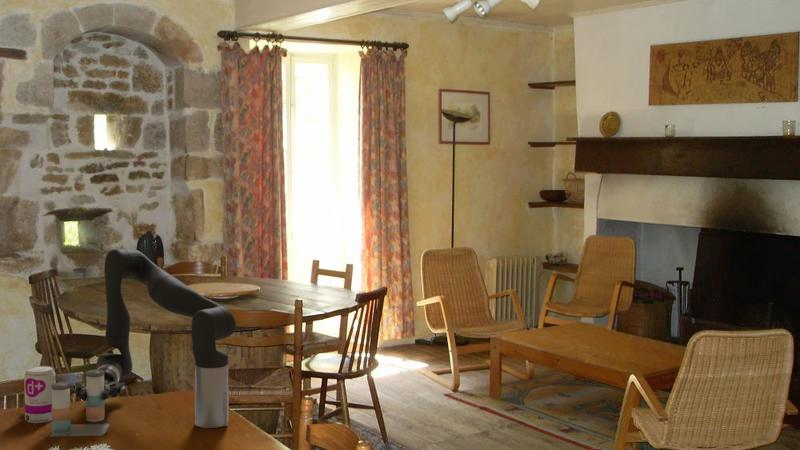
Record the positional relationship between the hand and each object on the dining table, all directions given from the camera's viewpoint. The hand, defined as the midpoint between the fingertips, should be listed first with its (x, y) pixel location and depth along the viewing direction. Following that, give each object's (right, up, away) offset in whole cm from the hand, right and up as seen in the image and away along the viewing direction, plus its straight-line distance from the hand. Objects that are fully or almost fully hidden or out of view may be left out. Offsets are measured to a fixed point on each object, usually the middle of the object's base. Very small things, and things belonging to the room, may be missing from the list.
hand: (93, 396), depth 249 cm
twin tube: (-8, -10, -1) cm, 13 cm away
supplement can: (-19, -9, +11) cm, 23 cm away
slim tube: (-1, -7, +3) cm, 7 cm away
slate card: (-4, -10, +2) cm, 11 cm away
